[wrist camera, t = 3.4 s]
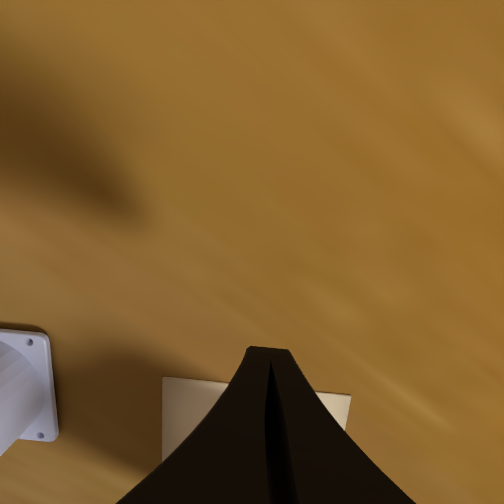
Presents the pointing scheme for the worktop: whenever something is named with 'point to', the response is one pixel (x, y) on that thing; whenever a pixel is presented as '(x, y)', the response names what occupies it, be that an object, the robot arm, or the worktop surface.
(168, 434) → the shelf board
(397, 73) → the worktop surface
